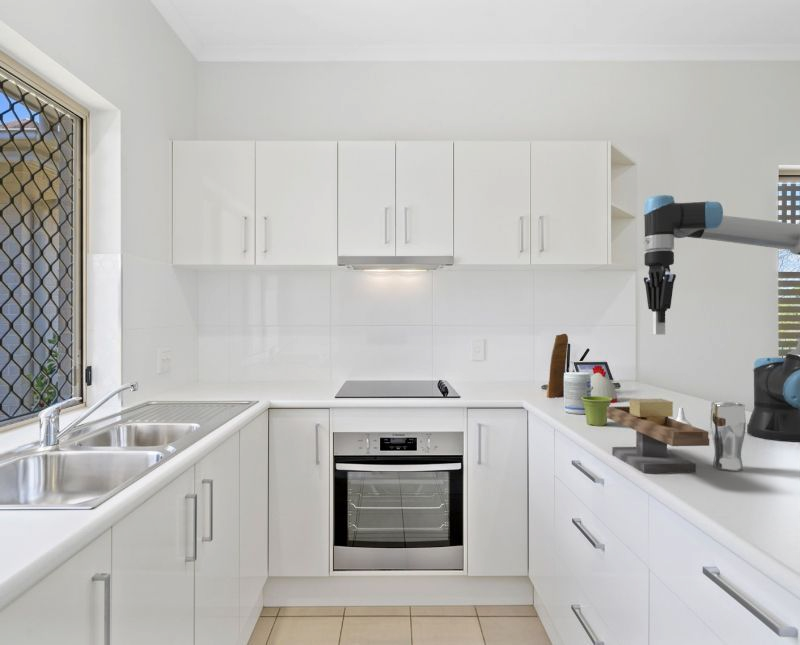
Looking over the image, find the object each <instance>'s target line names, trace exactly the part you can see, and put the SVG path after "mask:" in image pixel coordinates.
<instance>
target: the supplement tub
mask: <svg viewBox="0 0 800 645" xmlns="http://www.w3.org/2000/svg"><path fill="white" fill-rule="evenodd" d="M585 396H591V373H590V372H585V371H584V372H583V371H582V372H580V371H568V372H567V371H565V373H564V395H563V410H564V412H565V413H568V414H572V415H586V414H585V407H584V403H583V400H582V399H581V398H582V397H585Z"/></svg>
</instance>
